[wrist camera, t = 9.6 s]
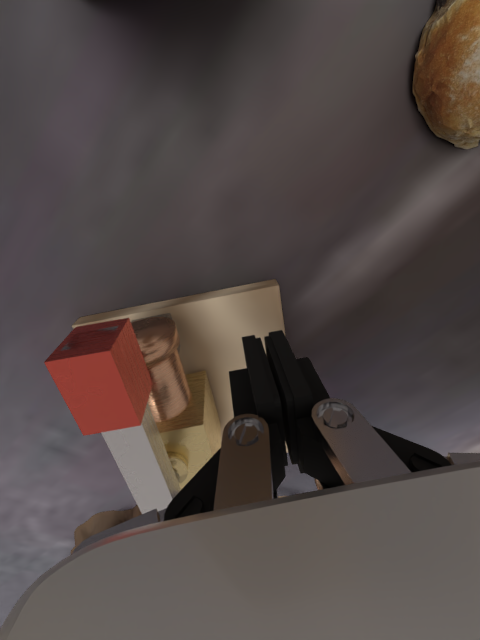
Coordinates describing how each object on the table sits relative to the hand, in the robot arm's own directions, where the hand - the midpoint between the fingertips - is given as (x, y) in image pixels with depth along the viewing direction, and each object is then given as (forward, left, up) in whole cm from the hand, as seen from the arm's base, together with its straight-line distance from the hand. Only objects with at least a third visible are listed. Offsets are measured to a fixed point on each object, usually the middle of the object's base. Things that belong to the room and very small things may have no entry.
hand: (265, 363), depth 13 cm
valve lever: (-7, -4, -4) cm, 9 cm away
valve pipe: (-7, -10, -11) cm, 17 cm away
